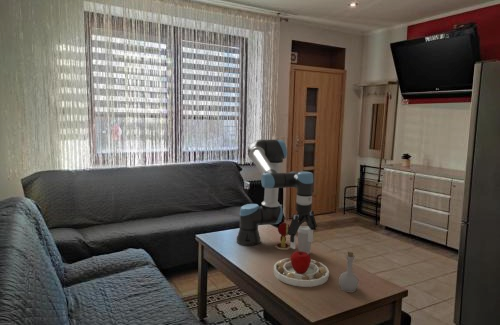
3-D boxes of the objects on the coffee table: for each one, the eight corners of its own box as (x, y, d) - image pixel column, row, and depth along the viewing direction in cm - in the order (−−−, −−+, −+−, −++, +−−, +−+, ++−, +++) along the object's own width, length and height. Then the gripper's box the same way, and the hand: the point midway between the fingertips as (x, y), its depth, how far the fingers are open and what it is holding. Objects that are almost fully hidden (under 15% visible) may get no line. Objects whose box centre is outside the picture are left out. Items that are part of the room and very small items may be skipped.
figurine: (291, 249, 207) (292, 225, 205) (274, 249, 207) (275, 224, 205) (290, 244, 215) (291, 221, 213) (274, 244, 216) (275, 220, 214)
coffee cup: (311, 250, 207) (312, 225, 205) (313, 256, 198) (314, 230, 196) (295, 249, 208) (296, 224, 206) (296, 255, 199) (297, 229, 197)
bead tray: (262, 272, 175) (263, 264, 174) (297, 258, 193) (297, 251, 193) (305, 292, 155) (305, 283, 155) (339, 275, 174) (339, 267, 173)
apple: (286, 271, 174) (287, 250, 173) (298, 266, 181) (299, 246, 179) (301, 278, 167) (302, 256, 166) (314, 273, 173) (315, 252, 172)
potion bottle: (334, 288, 160) (337, 251, 158) (344, 282, 166) (347, 246, 164) (352, 295, 154) (354, 256, 152) (361, 289, 160) (364, 251, 158)
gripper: (293, 209, 159) (291, 253, 162) (325, 201, 175) (322, 241, 178) (281, 205, 164) (279, 248, 167) (313, 198, 181) (311, 237, 184)
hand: (301, 244), depth 173 cm, fingers open, 13 cm apart
